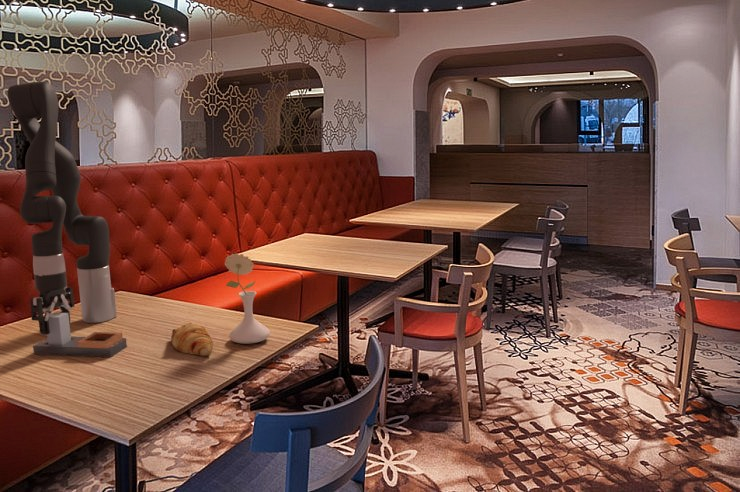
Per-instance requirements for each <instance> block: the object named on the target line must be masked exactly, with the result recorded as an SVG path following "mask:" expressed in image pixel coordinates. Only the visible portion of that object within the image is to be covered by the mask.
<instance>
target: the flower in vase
mask: <svg viewBox="0 0 740 492" xmlns="http://www.w3.org/2000/svg"><path fill="white" fill-rule="evenodd" d="M224 265H225V267H226V269H228V271H229V272H230V273H232V274H236V276H237V277H236V281H235V280H229V281H228V282H227V283H226V285H225V287H229V288H232V289H233V288H234V289H237V288H238V287H240V289H241V290H242V291H240V292H238V297H240V298H241V301H242V304H243V311H244V316H243V319H242V321H241V322H239V323H238V324H237V325H236V326H235V327H234V328H233V329H232V330H231V331H230V332H229V334H228V337H229V339H230V341H232V342H235V343H237V344H244V345H245V344H247V345H248V344H256V343H260V342H262V341H265V340H266V339H268V338H269V337H270V336H271V332H270V329H268V328H267V327H266V326H265V325H264V324H262V323H260V322H259V321H258V320H257V319H255V317H254V314H253V307H254V306H253V304H254V303H253V302H254V299H255V296H256V295H257V292H256V291H255V290H253V291H252V290H248V289H249V288H251V287H253V286H254V284H255V283H256V281H252V282H250V283H248V284H247V285H245V287H244V288H243V286H242V284H241V283H240V281H239V276H240V275H241V276H243V275H244V276H245V275H248V274H249V273H253V270H254V267H255V265H254V262H252V259H251V258H249V256H247V255H246V256H245V255H244V254H243V253H236V252H235V253H232V254H230V255H227V257H225V260H224ZM246 289H247V290H246Z"/></svg>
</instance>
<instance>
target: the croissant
mask: <svg viewBox="0 0 740 492" xmlns="http://www.w3.org/2000/svg"><path fill="white" fill-rule="evenodd" d="M170 339H171V340H170V341H171V345H172V346H173V348H174V349H175V350H177V351H179V352H180V353H185V354H190V355H197V356H201V357H202V356H203V357H207V356H209V355H211V354H212V353H213V349H214V342H213V340H212V338H211V335H210V334H209V332H208V331H207V329H206V327H205V326H202V325H199V324H197V323H192V322H189V323H187V324H184V325H182V326H181V327H178V328H173V330H172V331H171V337H170Z"/></svg>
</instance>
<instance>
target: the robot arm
mask: <svg viewBox="0 0 740 492" xmlns="http://www.w3.org/2000/svg"><path fill="white" fill-rule="evenodd" d="M6 95H7V99H8V103H9V106H10V108H11V110H12V113H13V115H14V117H15V118H16V120H17V122H18V124H19V126H20V127H21V129H22V131H23V132H24V133H23V134H24V135H25V136H26V138H27V141H28V142H29V144H30V145H29V147H28V148H27V151H26V154H25V159H24V161H25V162H24V166H25V167H24V169H25V187H24V188H25V189H24V192H23V196H22V199H21V202H20V206H19V213H20V217H21V219H22V220H23V221H24V222H25V223H27V224H34V225H35V224H49V223H50V224H51V223H52V225H51V227H50V228H48V229H47V230H43V231H39V232H35V233H33V234H32V235H31V248H32V269H33V277H34V287H35V290H36V291H38V292H39V295H38V296H37V297H31V298H30V299H29V301H30V313H31V314H30V315H31V316H30V317H31V321H35V322H36V321H37V322H38V327H39V333H40V334H41V335H43V336H44V335H46V336H47V334H49V333H50V329H49V321H48V318H49V315H51V314H53V312H54V310H56V308H58V309H59V310H60V312H59V313H68V315H69V325H70V324H71V309H72V308H74V307H75V303H76V302H75V297H74V291H73V287H72V286H68V280H67V269H66V262H65V261H66V260H65V257H64V250H63V249H64V248H63V240H62V239H63V238H62V237H63V236H62V235H63V228H64V230H65V233H66V236H67V237H68V240H69V241H70V242H71V243H72V244H74V245H77V246H88V253H87V254H85V255H83V256H80V257H78V258H77V259H76V264H75V265H76V270H77V271H76V272H77V279H78V281H77V282H78V290H79V299H80V301H79V302H80V309H81V318H82V322H84V323H86V324H89V323H90V324H95V323H103V322H108V321H110V320H112V319H114V318H117V317H118V315H117V305H116V304H117V303H116V296H115V295H116V294H115V289H114V287H112V283H111V272H110V262H109V261H110V258H111V257H110V256H111V248H110V244H111V243H110V229H109V224H108V222H107V220H106V218H105V217H102V216H99V215H97V216H96V215H83V213H82V212H81V210H80V207H79V204H78V195H79V190H80V187H81V182H82V180H81V179H82V175H81V173H80V169H79V167H78V165H77V162H76V159H75V157H74V155H73V154H72V153H71V151H69V149H67V148H66V147H64V145H62V144H61V143H60V142H58V141H57V131H58V117H59V99H58V95H57V93H56V90H55V88H54V87H53V85H52V84H51V83H49V82H48V81H37V82H26V83H20V84H14V85H11V86H9V87H8V89H7V93H6ZM39 118H40V122H39V121H38V119H39ZM49 190H50V191H51V194H52V195H42V196H41V195H39V194H40V193H42V192H44V191H49ZM38 195H39V196H38Z"/></svg>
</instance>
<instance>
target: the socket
mask: <svg viewBox="0 0 740 492" xmlns="http://www.w3.org/2000/svg"><path fill="white" fill-rule="evenodd" d="M127 347H128V344H127V338H126V337H123V332H107V331H105V332H104V331H94V332H93V333H91V334H89V335H87V336H72V335H71V341H69V342H68V343H66V344H64V345H48V338H47V337H46V338H45V339H43V340H42V341H40V342H37V343H35V344H34V345H32V349H33V350H32V351H33V355H34V356H63V357H64V356H65V357H66V356H67V357H88V358H89V357H90V358H91V357H93V358H95V357H96V358H112V357H114V356H115V355H117V354H118V353H120V352H122V351H123V350H124V349H126V348H127Z"/></svg>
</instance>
